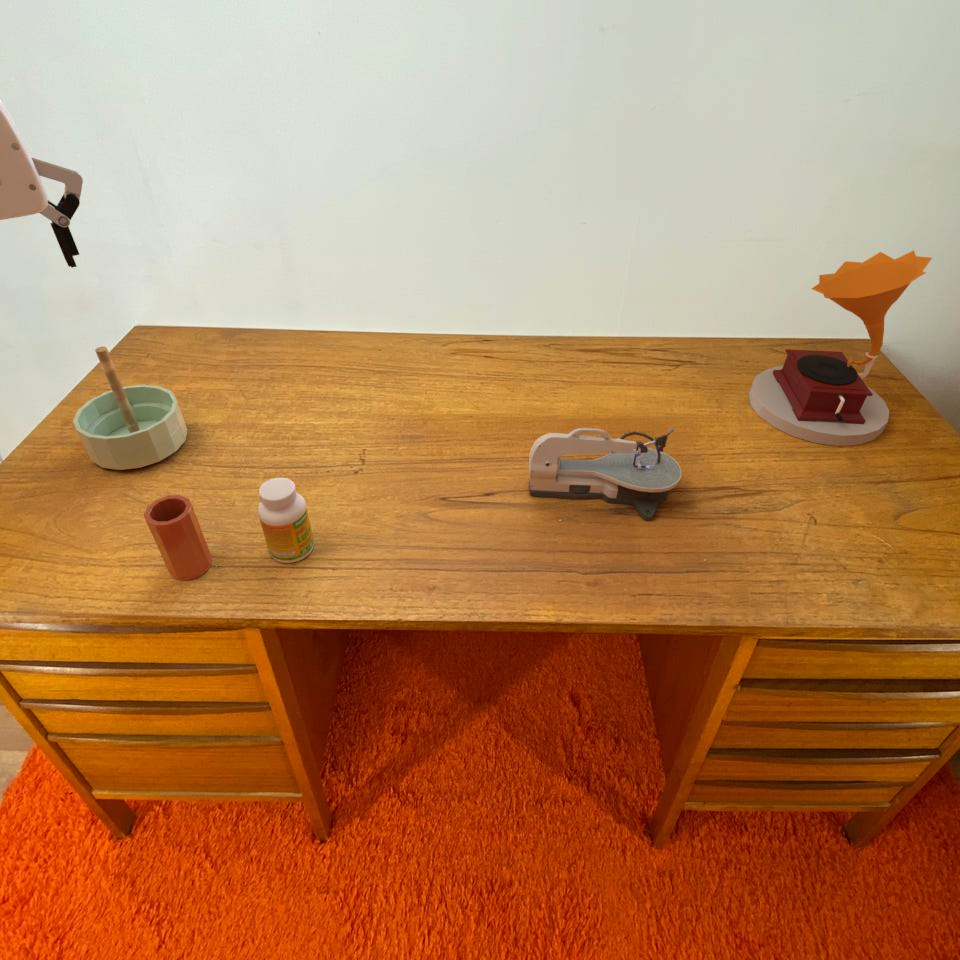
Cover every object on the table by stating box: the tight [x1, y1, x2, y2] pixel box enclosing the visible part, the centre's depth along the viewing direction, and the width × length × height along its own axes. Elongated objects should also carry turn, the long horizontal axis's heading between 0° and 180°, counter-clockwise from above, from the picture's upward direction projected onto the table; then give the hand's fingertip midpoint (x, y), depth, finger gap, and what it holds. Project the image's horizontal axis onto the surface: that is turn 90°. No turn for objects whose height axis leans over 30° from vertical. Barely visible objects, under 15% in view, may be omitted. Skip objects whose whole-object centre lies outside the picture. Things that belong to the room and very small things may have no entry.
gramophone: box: [748, 250, 933, 447], centre depth 95 cm, size 20×20×25 cm
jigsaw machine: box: [528, 427, 683, 522], centre depth 84 cm, size 20×11×12 cm
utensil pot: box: [143, 494, 213, 581], centre depth 73 cm, size 5×5×9 cm
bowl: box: [72, 384, 189, 471], centre depth 91 cm, size 13×13×6 cm
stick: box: [94, 346, 140, 433], centre depth 88 cm, size 1×1×15 cm
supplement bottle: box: [257, 477, 315, 564], centre depth 75 cm, size 5×5×10 cm
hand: (19, 272), depth 65 cm, fingers open, 9 cm apart
